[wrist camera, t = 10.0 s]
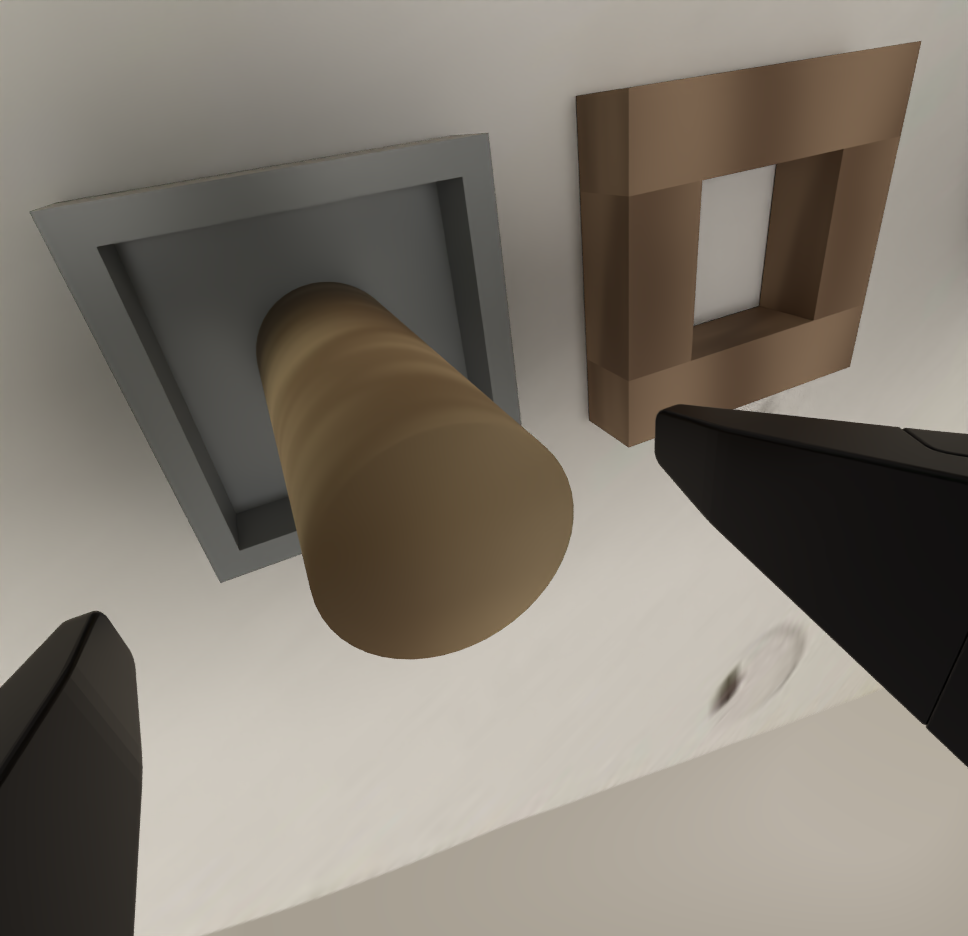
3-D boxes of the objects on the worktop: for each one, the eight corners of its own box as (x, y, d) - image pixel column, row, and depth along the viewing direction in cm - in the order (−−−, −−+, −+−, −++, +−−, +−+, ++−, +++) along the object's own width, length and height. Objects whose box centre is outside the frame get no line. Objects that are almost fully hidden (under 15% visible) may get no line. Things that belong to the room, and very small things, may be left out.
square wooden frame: (845, 53, 19) (921, 41, 17) (797, 349, 25) (849, 366, 23) (576, 95, 16) (628, 87, 14) (589, 420, 22) (628, 447, 20)
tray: (451, 135, 15) (488, 133, 13) (494, 441, 21) (526, 472, 18) (56, 202, 13) (29, 212, 11) (218, 534, 18) (220, 583, 16)
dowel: (382, 266, 16) (565, 386, 8) (411, 398, 18) (579, 599, 10) (233, 301, 15) (264, 480, 7) (283, 436, 17) (353, 696, 9)
